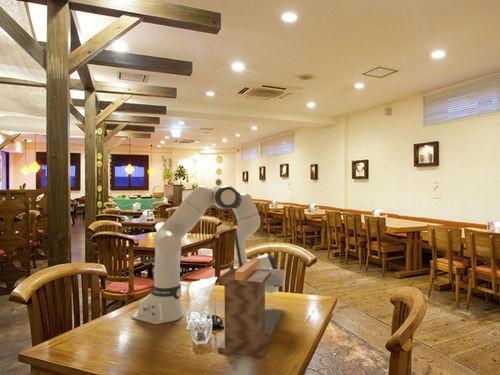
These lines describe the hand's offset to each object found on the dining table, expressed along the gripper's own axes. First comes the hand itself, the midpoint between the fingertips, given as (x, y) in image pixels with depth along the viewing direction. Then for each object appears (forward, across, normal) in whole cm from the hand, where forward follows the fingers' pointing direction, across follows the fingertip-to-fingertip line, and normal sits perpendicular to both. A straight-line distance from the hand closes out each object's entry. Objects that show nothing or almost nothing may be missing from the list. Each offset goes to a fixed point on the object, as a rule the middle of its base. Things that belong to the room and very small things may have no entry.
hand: (258, 269), depth 138 cm
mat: (-14, 0, +19) cm, 24 cm away
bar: (+14, 0, +5) cm, 15 cm away
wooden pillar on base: (+4, 0, +30) cm, 30 cm away
